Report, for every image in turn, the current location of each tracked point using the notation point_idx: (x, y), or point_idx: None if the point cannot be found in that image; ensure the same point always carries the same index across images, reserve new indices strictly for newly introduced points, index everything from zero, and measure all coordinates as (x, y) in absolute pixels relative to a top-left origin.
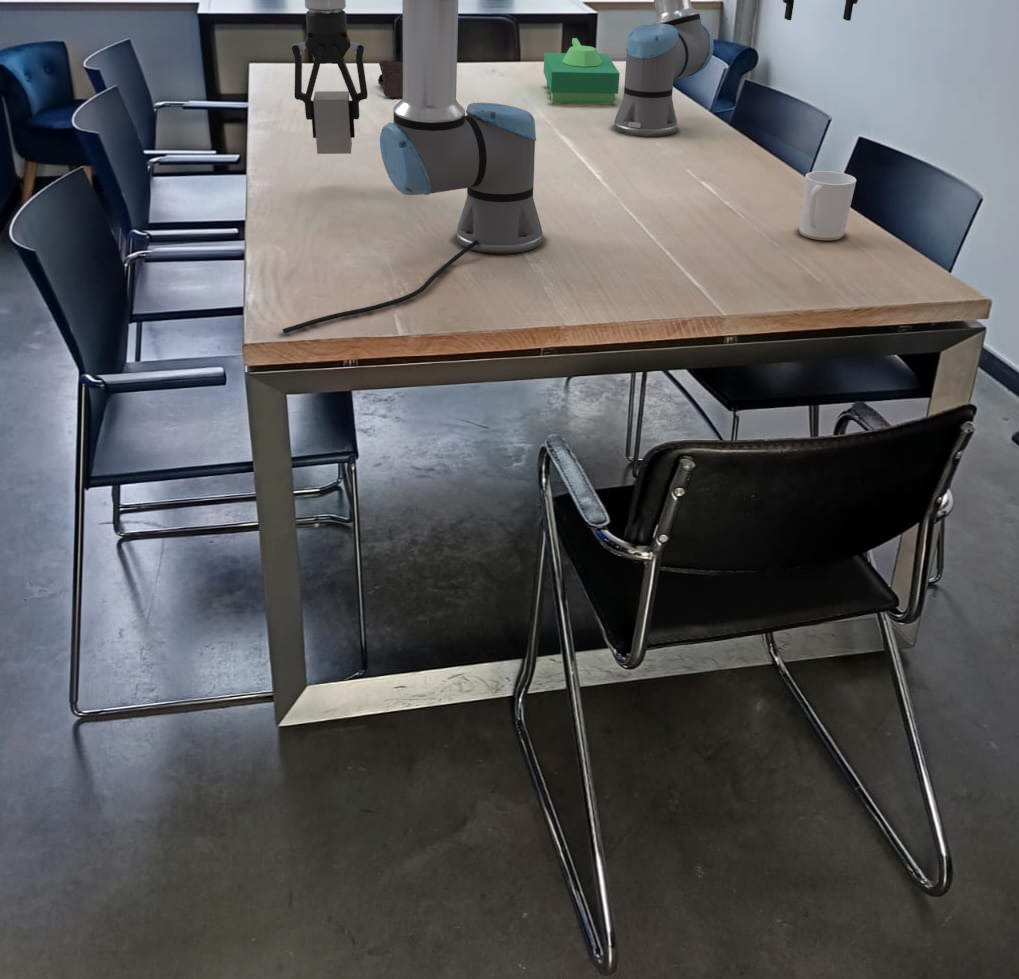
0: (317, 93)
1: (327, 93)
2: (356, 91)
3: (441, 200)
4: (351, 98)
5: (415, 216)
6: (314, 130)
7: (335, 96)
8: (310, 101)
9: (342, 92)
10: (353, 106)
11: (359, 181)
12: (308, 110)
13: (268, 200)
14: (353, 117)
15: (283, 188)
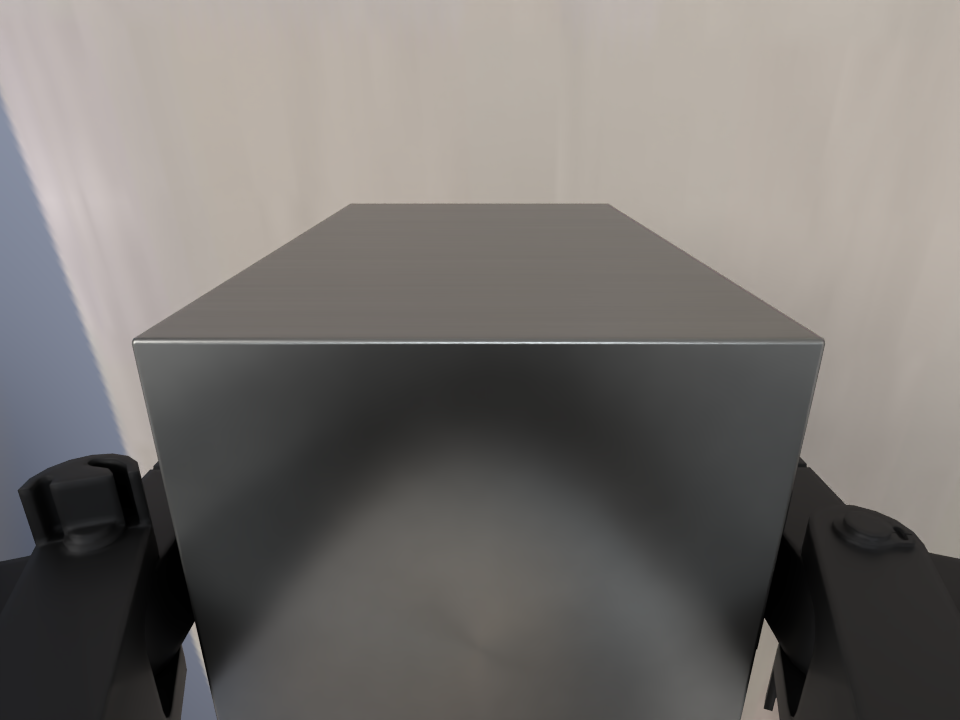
0: (219, 514)
1: (402, 522)
2: (950, 607)
3: (933, 471)
4: (778, 695)
5: (774, 636)
6: None
7: (546, 708)
8: (183, 628)
9: (684, 451)
10: None
11: (598, 151)
12: None
13: None
14: None
15: (206, 271)
